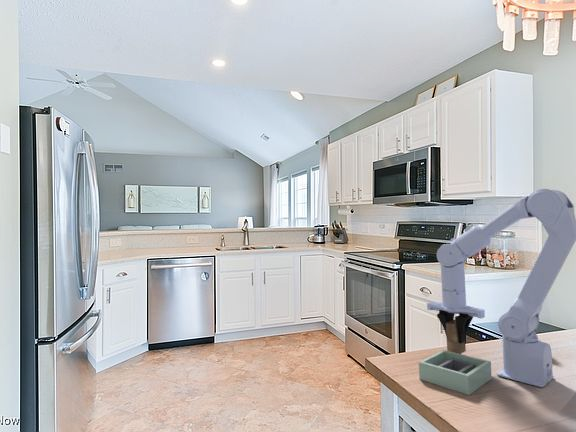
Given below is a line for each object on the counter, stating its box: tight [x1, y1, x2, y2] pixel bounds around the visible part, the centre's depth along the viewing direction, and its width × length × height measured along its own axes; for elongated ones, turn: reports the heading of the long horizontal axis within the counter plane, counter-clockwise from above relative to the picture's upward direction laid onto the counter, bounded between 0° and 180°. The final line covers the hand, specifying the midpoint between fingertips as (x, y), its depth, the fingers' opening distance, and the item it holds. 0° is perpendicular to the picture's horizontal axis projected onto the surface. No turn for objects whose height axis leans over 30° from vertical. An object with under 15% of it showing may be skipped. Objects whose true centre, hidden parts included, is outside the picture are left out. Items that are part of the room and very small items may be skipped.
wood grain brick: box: [445, 318, 467, 354], centre depth 100 cm, size 2×5×8 cm, turn 130°
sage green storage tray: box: [418, 349, 493, 396], centre depth 89 cm, size 12×12×4 cm
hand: (456, 341), depth 100 cm, fingers closed on wood grain brick, 2 cm apart
